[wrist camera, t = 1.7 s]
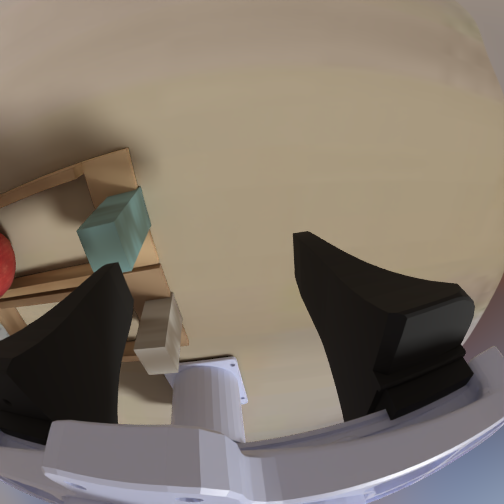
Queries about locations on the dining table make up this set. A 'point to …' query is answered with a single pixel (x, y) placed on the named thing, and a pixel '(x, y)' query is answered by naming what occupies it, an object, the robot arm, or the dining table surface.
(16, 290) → the wooden divided tray
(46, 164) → the dining table surface
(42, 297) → the lane empty
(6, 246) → the red round piece
